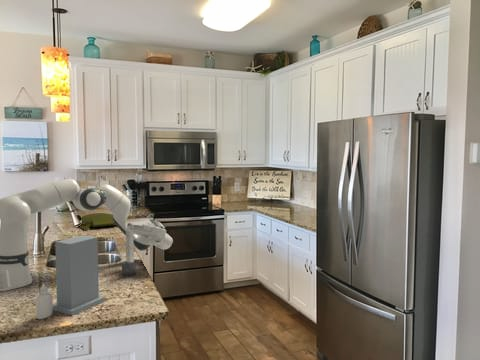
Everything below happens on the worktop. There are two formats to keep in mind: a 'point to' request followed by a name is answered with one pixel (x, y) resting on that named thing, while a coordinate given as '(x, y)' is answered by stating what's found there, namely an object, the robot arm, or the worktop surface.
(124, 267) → the knobbed shaft
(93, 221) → the olive green cushion
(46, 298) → the eye dropper bottle
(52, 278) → the worktop surface
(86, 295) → the stand
